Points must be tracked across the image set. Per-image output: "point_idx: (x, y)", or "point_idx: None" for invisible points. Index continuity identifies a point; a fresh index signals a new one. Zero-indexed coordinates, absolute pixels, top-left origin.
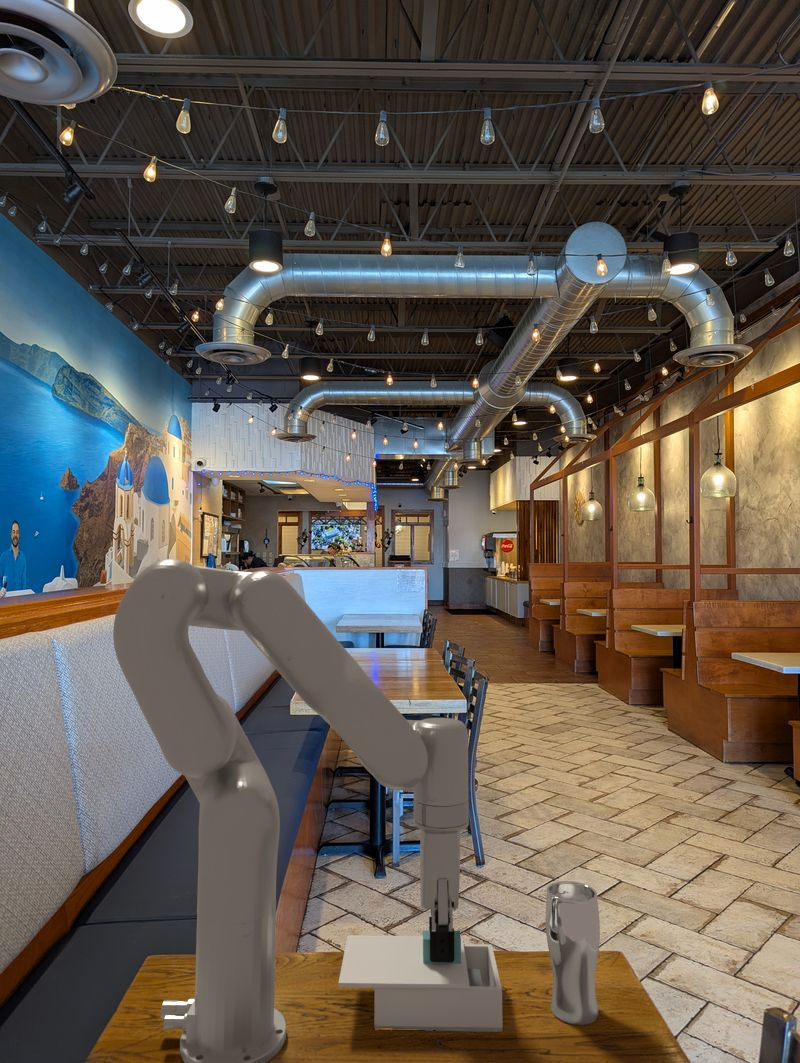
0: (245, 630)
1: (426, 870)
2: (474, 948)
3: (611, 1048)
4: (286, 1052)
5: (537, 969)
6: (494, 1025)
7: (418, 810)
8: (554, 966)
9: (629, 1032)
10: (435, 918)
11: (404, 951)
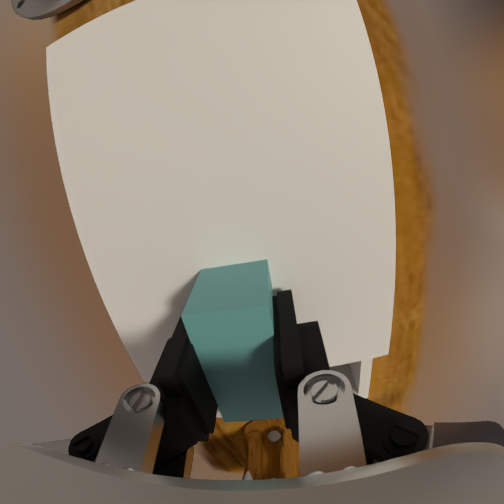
0: None
1: None
2: (359, 367)
3: (208, 447)
4: (57, 23)
5: (384, 394)
6: None
7: None
8: (257, 477)
9: (243, 460)
10: (78, 450)
11: (269, 186)
